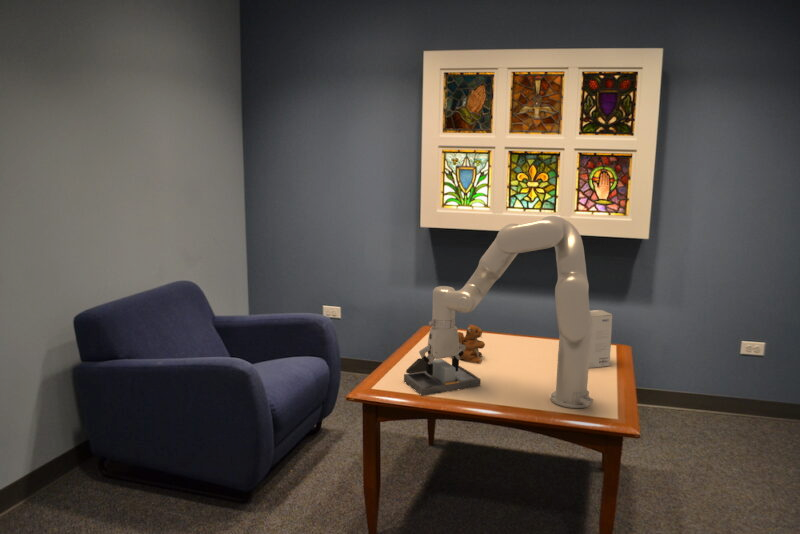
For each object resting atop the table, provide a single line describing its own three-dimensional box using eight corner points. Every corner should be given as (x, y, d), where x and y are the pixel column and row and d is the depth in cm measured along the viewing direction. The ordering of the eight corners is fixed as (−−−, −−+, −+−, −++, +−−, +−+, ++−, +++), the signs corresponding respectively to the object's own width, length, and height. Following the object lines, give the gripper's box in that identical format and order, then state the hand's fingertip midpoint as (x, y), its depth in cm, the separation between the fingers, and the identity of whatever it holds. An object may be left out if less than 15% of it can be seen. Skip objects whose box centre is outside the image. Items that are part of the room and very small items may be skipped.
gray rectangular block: (455, 384, 207) (455, 367, 206) (444, 386, 205) (445, 369, 204) (441, 375, 216) (441, 358, 215) (430, 376, 214) (431, 360, 213)
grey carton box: (598, 360, 237) (602, 309, 233) (610, 366, 230) (614, 314, 226) (562, 363, 233) (565, 311, 229) (572, 370, 226) (576, 317, 222)
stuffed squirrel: (482, 364, 231) (483, 330, 228) (445, 360, 234) (446, 326, 232) (486, 356, 240) (487, 323, 238) (450, 352, 244) (451, 320, 241)
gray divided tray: (480, 386, 209) (480, 378, 208) (422, 395, 200) (422, 387, 199) (459, 372, 221) (459, 365, 221) (403, 381, 212) (404, 373, 212)
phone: (438, 360, 232) (426, 373, 218) (438, 363, 232) (426, 376, 218) (418, 357, 234) (405, 370, 221) (418, 360, 235) (405, 373, 221)
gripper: (425, 329, 200) (424, 379, 203) (471, 323, 207) (470, 372, 210) (415, 323, 207) (414, 372, 210) (460, 318, 214) (459, 365, 217)
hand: (442, 372), depth 210 cm, fingers open, 9 cm apart
